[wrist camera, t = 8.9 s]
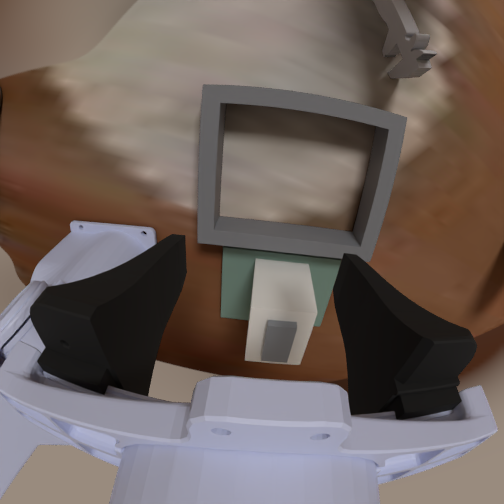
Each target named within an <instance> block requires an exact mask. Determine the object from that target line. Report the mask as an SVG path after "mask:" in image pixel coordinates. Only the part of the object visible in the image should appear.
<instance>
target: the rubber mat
mask: <svg viewBox="0 0 504 504" xmlns="http://www.w3.org/2000/svg"><path fill="white" fill-rule="evenodd" d="M256 258H257V259H266V260H276V261H285V262H294V263H304V264H309V268H310V273H311V278H312V284H313V289H314V295H315V301H316V307H317V316H316V319H315V322H314V325H313V326H320V324H321V322H322V319H323V316H324V313H325V310H326V307H327V304H328V301H329V298H330V295H331V292H332V289H333V286H334V283H335V280H336V277H337V273H338V270H339V267H340V263H341V259H340V258H331V257H322V256H313V255H304V254H295V253H286V252H277V251H268V250H259V249H249V248H240V247H231V246H223V264H222V292H221V317H225V318H233V319H242V320H249V313H250V304H251V295H252V287H253V278H254V269H255V260H256Z"/></svg>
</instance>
